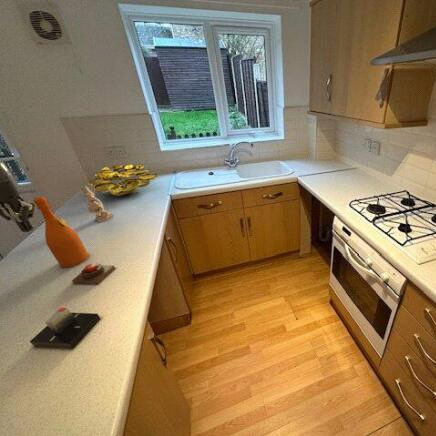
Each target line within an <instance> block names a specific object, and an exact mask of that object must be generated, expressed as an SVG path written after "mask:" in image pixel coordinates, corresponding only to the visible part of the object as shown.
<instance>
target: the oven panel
mask: <svg viewBox="0 0 436 436" xmlns="http://www.w3.org/2000/svg"><path fill="white" fill-rule="evenodd" d="M71 314H72V315H73V317H74V318H75V321H74V322H73V323H72V324H71V325H70V326H69V327H67V328H66V329H65V330H64V331H63V332H62V333H61V334H54V333H53V332H52V330H51V329H50V328H49V327H48V325H47V324H46V326H45V327H44V328H42V330H40V332H38V333H37V334H36V335H35V336H34V337H33V338H31V339H30V341H29V343H30V344H31V345H32V346H33V347H34V348H48V349H64V350H65V349H67V350H74V349H75V348H76V346H78V344H79V343H81V341H82V340H83V339H84V338H85V337H86V336H87V335H88V334H89V332H91V330H92V329H93V328H94V327H95V326H96V325H97V324H98V323H99V321H100V320H101V317H100V315H99V313H92V312H71Z"/></svg>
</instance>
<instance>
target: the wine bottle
mask: <svg viewBox="0 0 436 436" xmlns="http://www.w3.org/2000/svg"><path fill="white" fill-rule="evenodd" d="M32 201H33V204H34V205H35V207H36V208H37V210H38V211H40V212H41V215H42V217H43V219H44V223H45V225H44V226H45V227H44V228H45V229H44V237H45V243H46V246H47V247H48V249H49V251H50V252H51V254H52V256H53V257H54V259H56V261H57V263H58V264H59V265H60V266H61V267H63V268H71V267H75V266H77V265H80V264H82V263H84V262H85V261H87V259H88V258H89V254H88V252H87V249H86V247H85V246H84V243H83V242H82V239H81V238H80V236H79V235H78V234H77V232H76V231H75V230H74V229H73V228H71V227H70V226H69V225H68V224H69V223H68V222H67V221H66V220H64V219H63V218H61V217H59V218H58V217H57V216H56V215H55V214H54V213H53V211H52V210H51V205H50V204H49V202H48V201H47V199H46V197H44V196H38V197H35V198H33V200H32Z"/></svg>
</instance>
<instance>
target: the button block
mask: <svg viewBox="0 0 436 436" xmlns="http://www.w3.org/2000/svg"><path fill="white" fill-rule="evenodd" d="M95 264H96V266H97V269H96V270H95V271H93V272H90V273H86V271H85V269H84V268H83V269H81V272H80V273H79V274H78V275H77V276H75V277H74V278H73V279H71V282H72V284H73V285H100V283H102V282H103V281H104V280H105V279H106V278H107V277H108V276H109V275H110V274H111V273H112V272H114V271H115V270H116V267H115V265H109V264H108V265H107V264H106V265H105V264H101V263H95Z"/></svg>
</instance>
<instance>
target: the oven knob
mask: <svg viewBox="0 0 436 436" xmlns="http://www.w3.org/2000/svg"><path fill="white" fill-rule="evenodd" d="M71 313H72V312H71V311H70V309H69V307H60V308H58V309H57V311H56V312H55V313H53V314H52V315H51V316H50V317H49V318H47V319H46V320H45V321H44V323H45V324H46V326H47V325H48V327H49V328H50V329H51V330H52V332H53V333H54V334H61V333H62V332H63V331H64V330H65V329H66V328H67V327H69V326H70V325H71V324H72V323H73V322H74V321H75V318H74V317H73V315H72V314H71Z"/></svg>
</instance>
